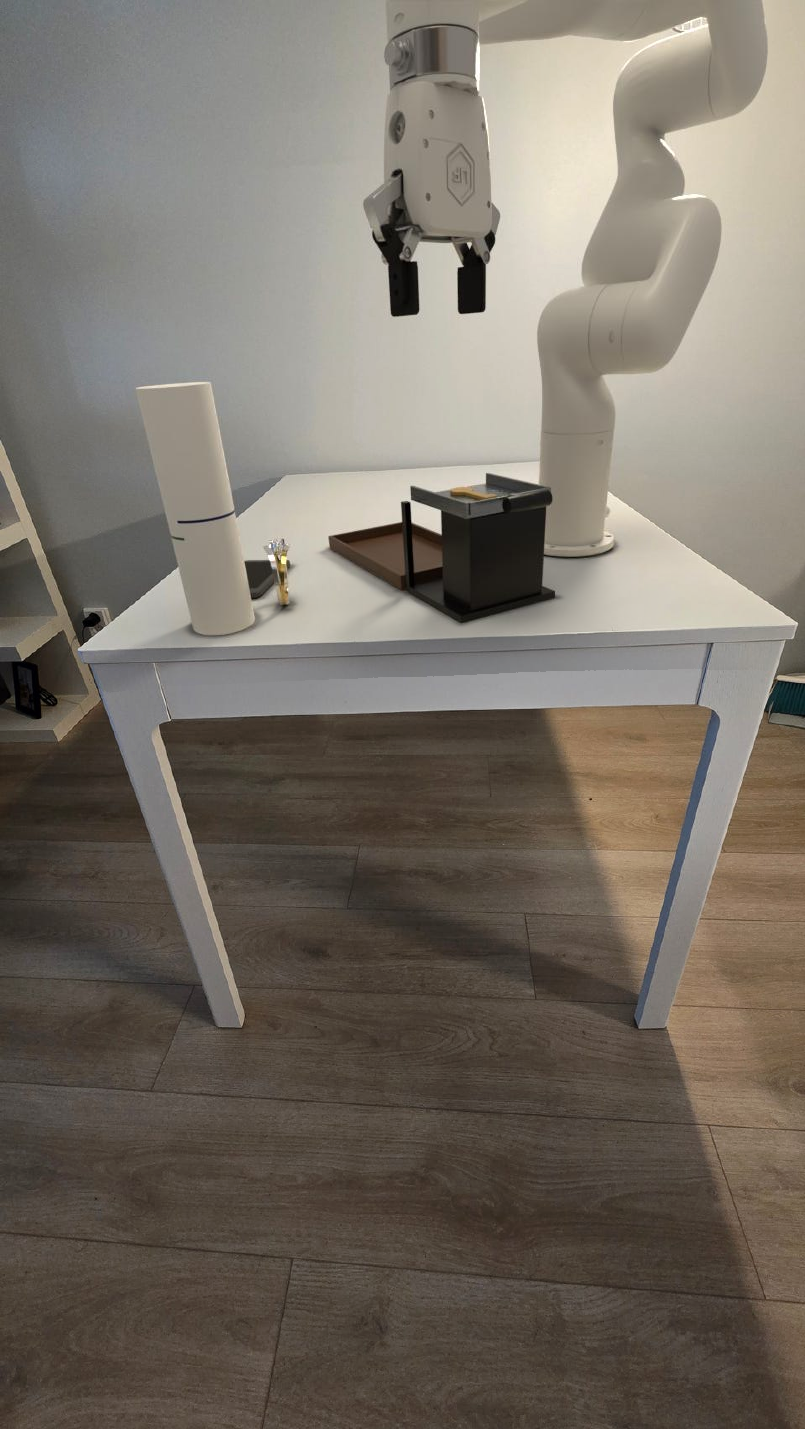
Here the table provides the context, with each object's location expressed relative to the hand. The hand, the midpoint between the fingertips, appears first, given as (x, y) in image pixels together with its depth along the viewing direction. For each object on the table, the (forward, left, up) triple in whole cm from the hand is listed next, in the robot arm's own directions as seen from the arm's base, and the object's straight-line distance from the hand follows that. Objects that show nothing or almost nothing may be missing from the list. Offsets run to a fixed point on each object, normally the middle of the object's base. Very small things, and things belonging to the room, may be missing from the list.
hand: (439, 314), depth 63 cm
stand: (-4, +2, -29) cm, 30 cm away
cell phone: (+7, -28, -30) cm, 41 cm away
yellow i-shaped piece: (-4, +1, -18) cm, 18 cm away
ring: (+11, -17, -30) cm, 36 cm away
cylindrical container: (+19, -19, -30) cm, 40 cm away
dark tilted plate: (-3, +4, -18) cm, 19 cm away
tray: (-12, -15, -29) cm, 35 cm away
